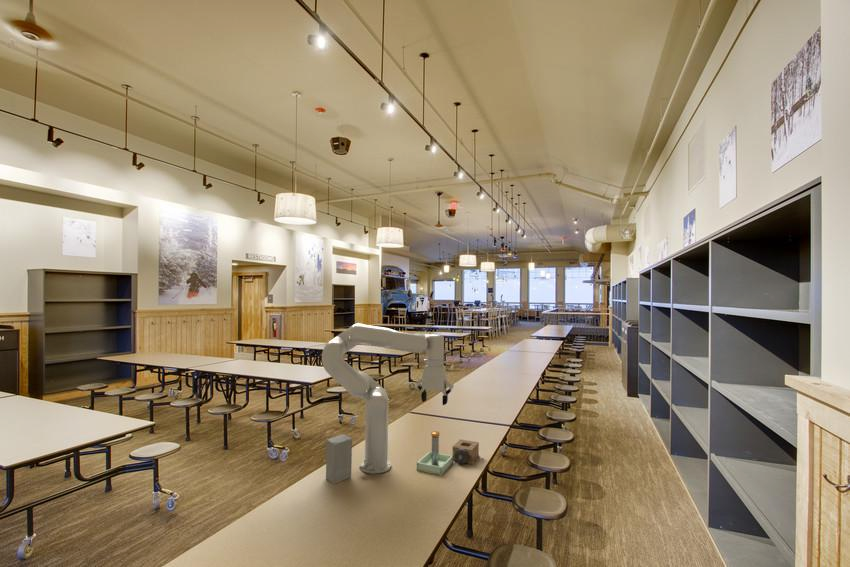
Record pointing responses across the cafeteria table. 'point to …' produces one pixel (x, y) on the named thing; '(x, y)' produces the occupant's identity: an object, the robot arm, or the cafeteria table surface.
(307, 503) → the cafeteria table surface
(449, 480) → the cafeteria table surface
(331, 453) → the skincare box
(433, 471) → the tray
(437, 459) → the lock pin
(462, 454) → the block
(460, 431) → the cafeteria table surface
